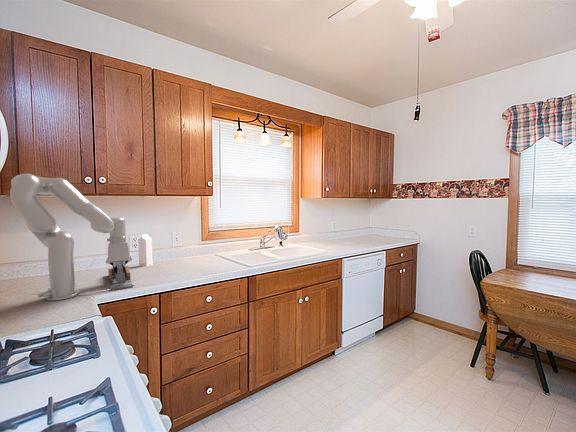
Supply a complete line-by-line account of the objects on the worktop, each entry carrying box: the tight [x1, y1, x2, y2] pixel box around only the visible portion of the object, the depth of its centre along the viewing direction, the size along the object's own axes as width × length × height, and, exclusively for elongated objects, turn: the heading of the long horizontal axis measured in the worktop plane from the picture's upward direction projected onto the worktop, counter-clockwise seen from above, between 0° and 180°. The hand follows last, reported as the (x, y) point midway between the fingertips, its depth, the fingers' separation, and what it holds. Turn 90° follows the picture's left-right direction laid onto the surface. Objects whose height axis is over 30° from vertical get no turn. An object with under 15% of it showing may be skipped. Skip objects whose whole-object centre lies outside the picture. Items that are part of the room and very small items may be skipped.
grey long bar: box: [112, 261, 125, 284], centre depth 160 cm, size 22×5×8 cm, turn 34°
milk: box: [137, 233, 154, 268], centre depth 194 cm, size 6×6×22 cm
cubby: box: [107, 266, 134, 292], centre depth 160 cm, size 30×10×5 cm, turn 34°
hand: (119, 272), depth 158 cm, fingers closed on grey long bar
